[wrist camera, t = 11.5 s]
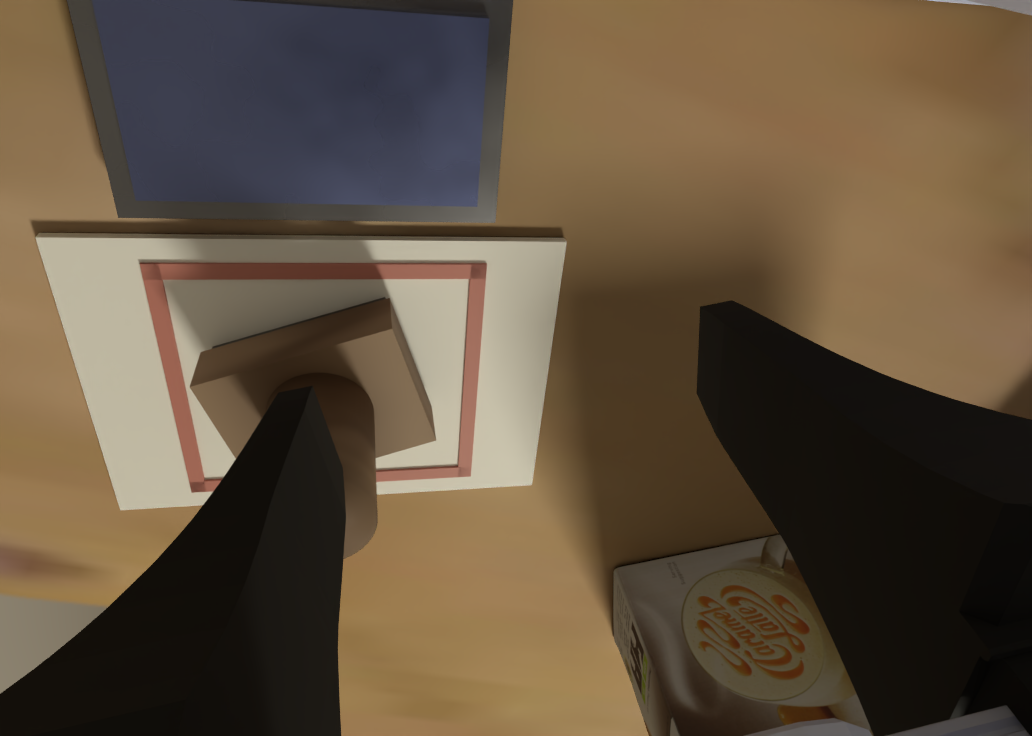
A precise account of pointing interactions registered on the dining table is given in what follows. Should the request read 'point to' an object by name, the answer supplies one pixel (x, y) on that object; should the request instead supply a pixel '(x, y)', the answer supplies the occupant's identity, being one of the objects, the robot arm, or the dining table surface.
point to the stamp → (327, 393)
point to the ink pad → (299, 106)
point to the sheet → (293, 298)
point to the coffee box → (728, 643)
